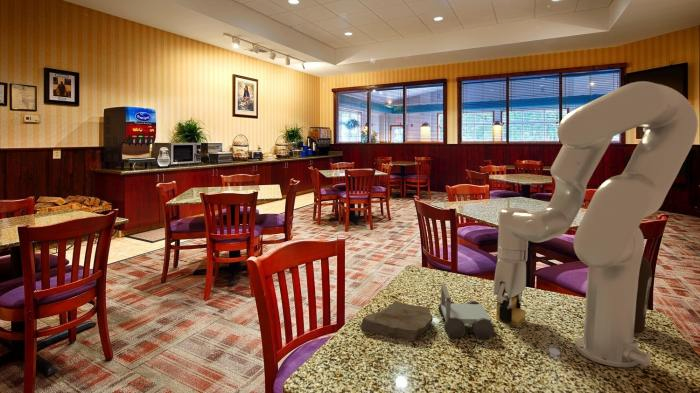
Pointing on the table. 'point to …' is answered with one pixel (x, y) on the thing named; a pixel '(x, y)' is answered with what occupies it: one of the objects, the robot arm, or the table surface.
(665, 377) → the table surface
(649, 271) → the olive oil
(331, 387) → the table surface
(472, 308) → the trolley
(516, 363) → the table surface
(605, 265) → the robot arm
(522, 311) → the orange block
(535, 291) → the table surface
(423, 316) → the marble piece
